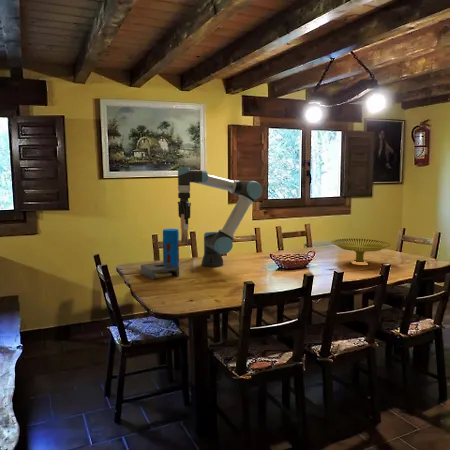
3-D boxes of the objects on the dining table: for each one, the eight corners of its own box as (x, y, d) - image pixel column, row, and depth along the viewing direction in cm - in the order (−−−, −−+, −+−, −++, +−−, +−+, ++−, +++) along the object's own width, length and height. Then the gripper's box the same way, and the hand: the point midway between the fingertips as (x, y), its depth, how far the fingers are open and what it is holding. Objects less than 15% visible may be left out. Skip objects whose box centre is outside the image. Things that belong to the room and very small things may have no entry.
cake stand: (318, 263, 315) (319, 242, 314) (350, 255, 342) (350, 236, 340) (370, 273, 286) (371, 250, 284) (400, 264, 313) (401, 243, 311)
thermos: (176, 267, 299) (175, 231, 296) (161, 267, 301) (160, 230, 298) (180, 264, 310) (180, 228, 307) (166, 263, 312) (165, 228, 309)
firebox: (166, 270, 291) (166, 261, 290) (179, 276, 276) (179, 266, 275) (140, 274, 281) (140, 264, 280) (152, 280, 266) (152, 270, 265)
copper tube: (185, 241, 287) (185, 213, 285) (188, 242, 284) (188, 214, 281) (180, 241, 285) (180, 214, 282) (183, 242, 281) (182, 214, 279)
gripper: (172, 191, 285) (173, 227, 288) (185, 192, 271) (185, 230, 274) (183, 191, 289) (183, 226, 292) (195, 192, 275) (196, 229, 278)
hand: (184, 228), depth 283 cm, fingers closed on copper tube, 4 cm apart
